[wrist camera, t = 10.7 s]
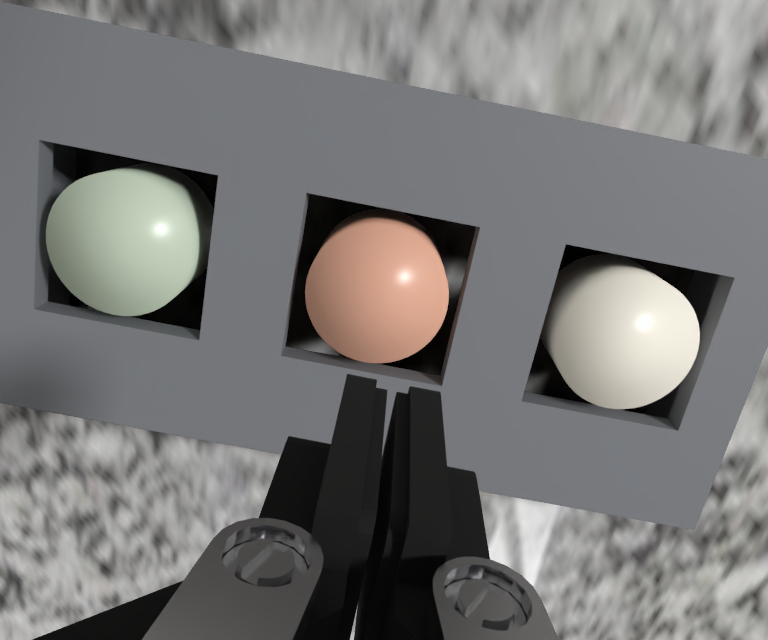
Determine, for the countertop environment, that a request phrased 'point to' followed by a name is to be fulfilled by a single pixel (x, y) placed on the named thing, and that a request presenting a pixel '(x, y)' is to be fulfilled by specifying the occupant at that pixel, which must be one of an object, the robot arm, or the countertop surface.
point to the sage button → (130, 237)
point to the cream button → (619, 332)
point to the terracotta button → (377, 287)
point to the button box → (386, 190)
